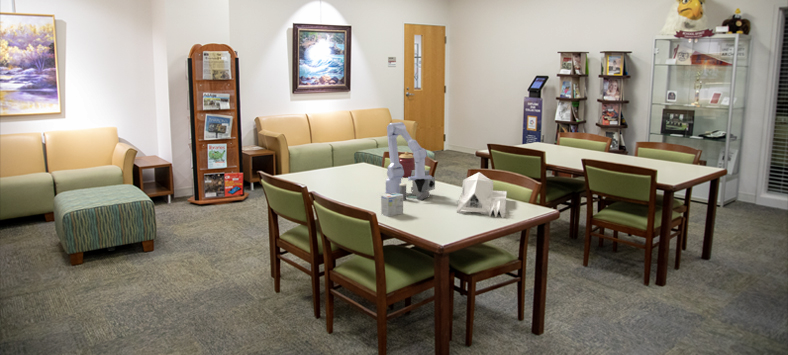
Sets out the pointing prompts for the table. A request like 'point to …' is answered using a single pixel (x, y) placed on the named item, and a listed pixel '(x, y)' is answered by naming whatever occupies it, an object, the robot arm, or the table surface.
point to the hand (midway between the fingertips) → (419, 191)
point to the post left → (403, 190)
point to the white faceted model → (481, 196)
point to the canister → (407, 163)
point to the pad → (412, 196)
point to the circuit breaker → (427, 185)
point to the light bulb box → (392, 204)
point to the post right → (423, 195)
